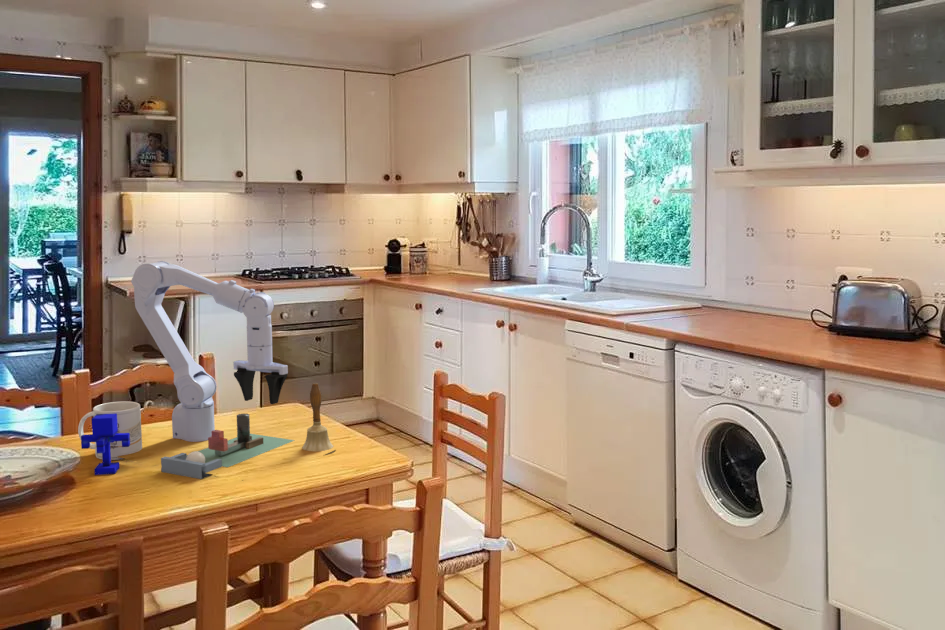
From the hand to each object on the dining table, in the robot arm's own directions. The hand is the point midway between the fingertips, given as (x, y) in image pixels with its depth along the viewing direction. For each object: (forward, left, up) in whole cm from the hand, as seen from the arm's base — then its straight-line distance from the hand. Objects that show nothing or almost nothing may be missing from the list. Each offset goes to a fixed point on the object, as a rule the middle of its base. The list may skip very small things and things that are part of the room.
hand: (261, 401), depth 199 cm
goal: (+1, -24, -10) cm, 26 cm away
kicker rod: (+1, -11, -9) cm, 14 cm away
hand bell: (+16, 0, -10) cm, 19 cm away
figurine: (-15, -32, -10) cm, 37 cm away
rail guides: (+1, -6, -9) cm, 11 cm away
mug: (-24, -22, -10) cm, 34 cm away
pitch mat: (+1, -10, -10) cm, 14 cm away
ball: (+1, -23, -8) cm, 24 cm away
